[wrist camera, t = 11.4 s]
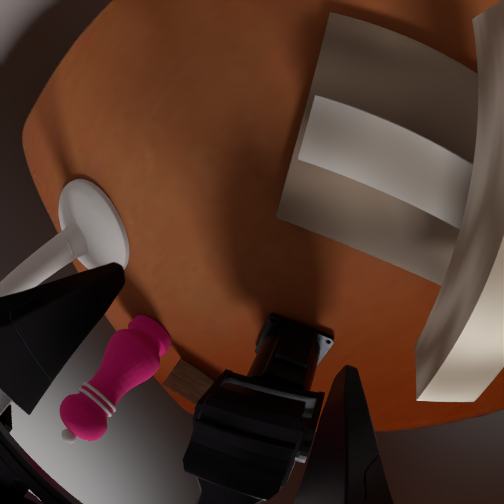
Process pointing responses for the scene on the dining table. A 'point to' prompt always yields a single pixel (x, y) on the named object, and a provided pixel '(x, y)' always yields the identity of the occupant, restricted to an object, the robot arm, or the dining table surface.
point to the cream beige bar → (473, 251)
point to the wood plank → (188, 381)
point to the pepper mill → (114, 378)
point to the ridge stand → (384, 148)
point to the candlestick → (75, 238)
